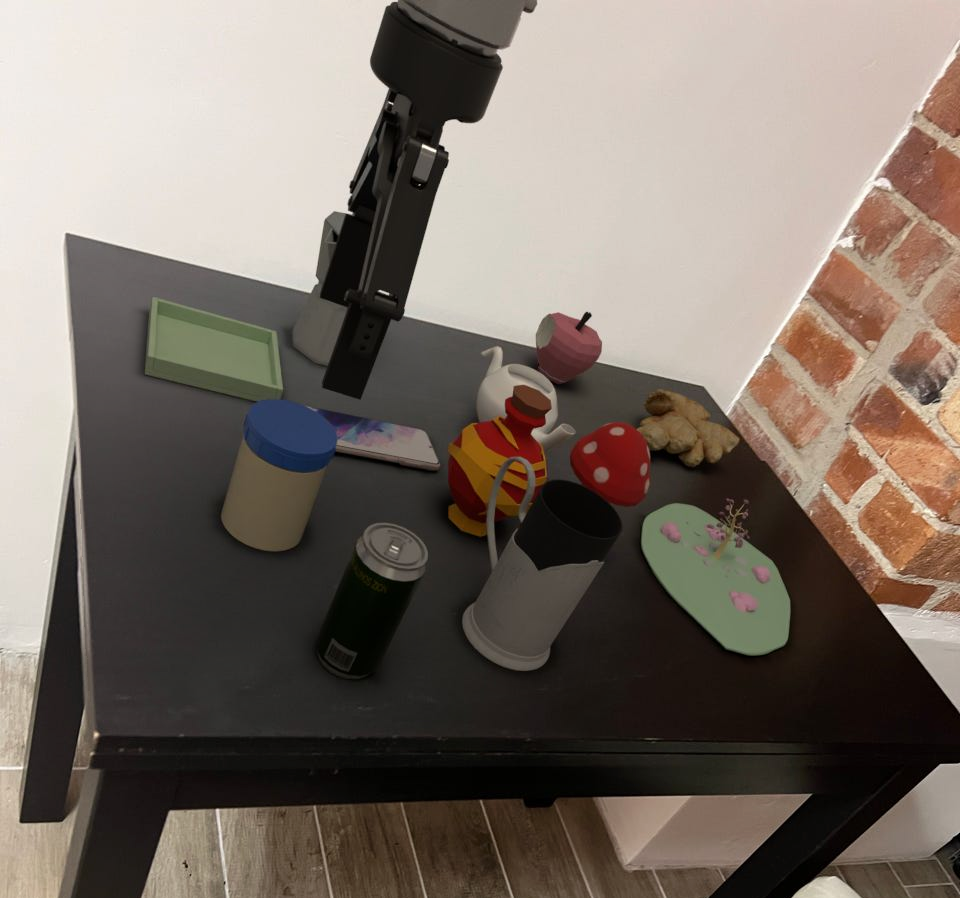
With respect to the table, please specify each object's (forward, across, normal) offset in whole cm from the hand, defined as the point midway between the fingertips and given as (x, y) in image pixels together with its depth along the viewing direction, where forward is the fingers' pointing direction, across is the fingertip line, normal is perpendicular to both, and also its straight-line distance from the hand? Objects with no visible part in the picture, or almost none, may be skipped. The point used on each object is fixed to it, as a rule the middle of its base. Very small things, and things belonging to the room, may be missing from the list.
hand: (338, 343), depth 67 cm
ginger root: (+19, +42, -55) cm, 72 cm away
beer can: (+20, -12, -6) cm, 24 cm away
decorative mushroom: (+20, +11, -32) cm, 39 cm away
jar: (+20, +2, +1) cm, 20 cm away
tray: (+20, +28, +7) cm, 35 cm away
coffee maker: (+20, +39, -6) cm, 44 cm away
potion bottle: (+20, +11, -21) cm, 31 cm away
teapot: (+20, +28, -26) cm, 43 cm away
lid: (+10, +2, +1) cm, 10 cm away
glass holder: (+20, -3, -21) cm, 29 cm away
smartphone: (+20, +20, -10) cm, 30 cm away
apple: (+19, +51, -38) cm, 67 cm away
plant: (+19, +12, -53) cm, 57 cm away
